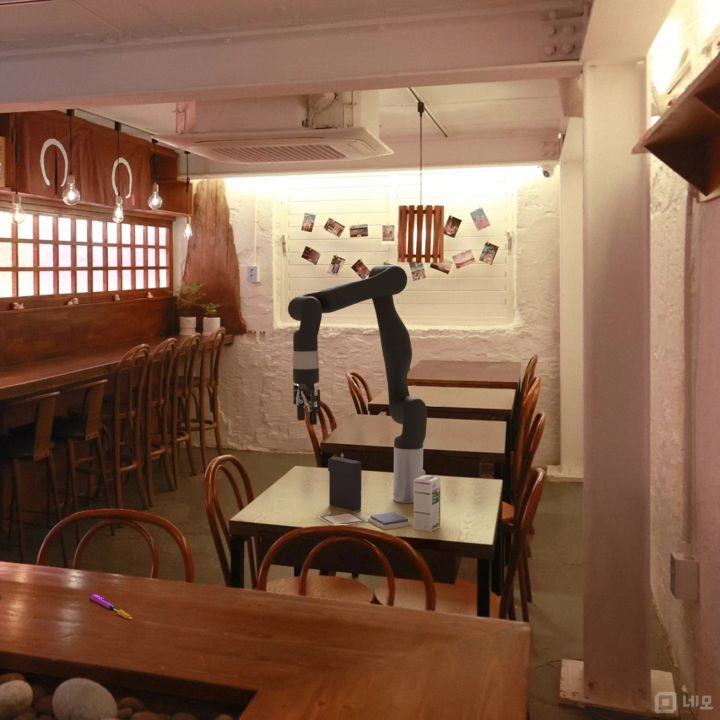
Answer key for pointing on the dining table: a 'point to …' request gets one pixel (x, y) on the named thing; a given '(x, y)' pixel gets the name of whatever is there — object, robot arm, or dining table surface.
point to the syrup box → (427, 503)
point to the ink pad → (389, 520)
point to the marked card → (342, 518)
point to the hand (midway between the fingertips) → (306, 422)
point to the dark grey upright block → (344, 483)
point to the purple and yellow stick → (109, 606)
